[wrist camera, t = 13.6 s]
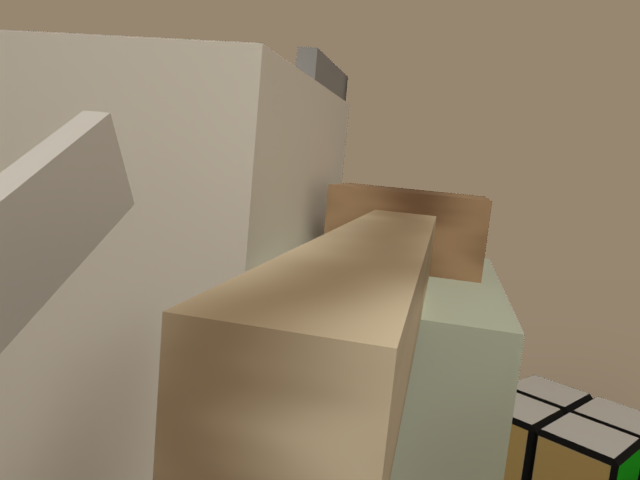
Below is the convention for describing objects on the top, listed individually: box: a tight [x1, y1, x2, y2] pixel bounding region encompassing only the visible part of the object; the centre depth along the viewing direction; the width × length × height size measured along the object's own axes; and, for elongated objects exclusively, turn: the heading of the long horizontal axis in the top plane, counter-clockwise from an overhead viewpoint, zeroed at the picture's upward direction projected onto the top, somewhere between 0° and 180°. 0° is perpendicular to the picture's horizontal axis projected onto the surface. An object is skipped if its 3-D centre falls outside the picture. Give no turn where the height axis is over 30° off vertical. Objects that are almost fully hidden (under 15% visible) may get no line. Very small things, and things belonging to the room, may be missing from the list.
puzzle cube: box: [504, 375, 640, 480], centre depth 40 cm, size 10×10×10 cm
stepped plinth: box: [0, 30, 525, 480], centre depth 31 cm, size 21×18×30 cm
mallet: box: [153, 183, 492, 480], centre depth 21 cm, size 8×28×4 cm, turn 167°
